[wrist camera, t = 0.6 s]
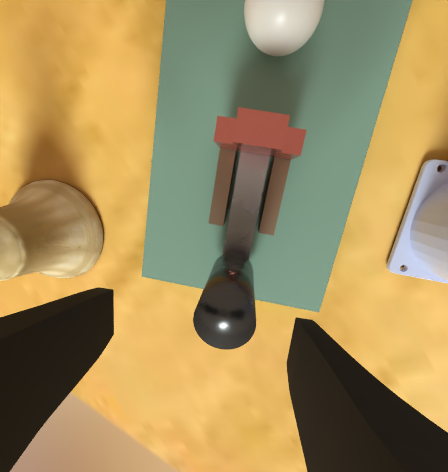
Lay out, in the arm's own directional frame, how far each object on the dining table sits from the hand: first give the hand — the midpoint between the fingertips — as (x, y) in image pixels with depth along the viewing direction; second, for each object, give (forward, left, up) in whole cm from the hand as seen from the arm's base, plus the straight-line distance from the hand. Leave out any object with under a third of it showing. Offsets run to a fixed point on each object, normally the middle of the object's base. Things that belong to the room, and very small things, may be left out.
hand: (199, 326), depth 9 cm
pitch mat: (-1, -8, -10) cm, 13 cm away
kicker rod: (-1, -3, -9) cm, 9 cm away
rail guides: (-1, -5, -9) cm, 10 cm away
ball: (-1, -14, -7) cm, 16 cm away
